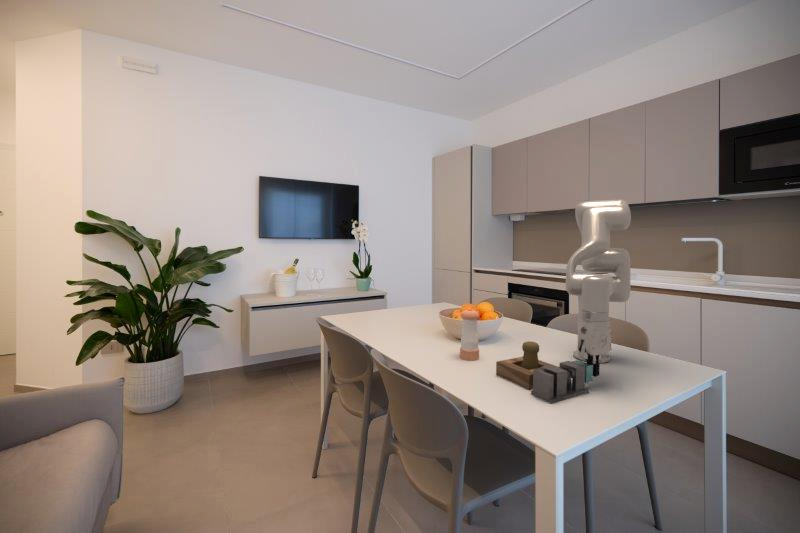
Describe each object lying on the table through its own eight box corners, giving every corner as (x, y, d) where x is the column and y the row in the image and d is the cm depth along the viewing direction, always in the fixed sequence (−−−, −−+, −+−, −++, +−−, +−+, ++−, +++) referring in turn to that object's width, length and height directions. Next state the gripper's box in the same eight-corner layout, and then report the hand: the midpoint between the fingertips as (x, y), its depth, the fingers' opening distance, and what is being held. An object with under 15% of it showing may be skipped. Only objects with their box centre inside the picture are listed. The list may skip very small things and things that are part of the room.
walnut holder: (526, 368, 125) (526, 355, 125) (560, 381, 113) (561, 367, 112) (496, 374, 119) (496, 361, 118) (529, 389, 106) (529, 375, 106)
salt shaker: (483, 358, 136) (483, 308, 135) (469, 361, 132) (470, 310, 131) (469, 353, 142) (469, 306, 141) (455, 356, 138) (456, 307, 137)
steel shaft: (577, 375, 111) (577, 360, 111) (592, 381, 106) (592, 364, 106) (538, 385, 103) (539, 368, 103) (553, 392, 99) (553, 374, 98)
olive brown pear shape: (541, 379, 112) (542, 345, 111) (521, 378, 113) (522, 344, 112) (538, 373, 117) (539, 340, 117) (519, 371, 119) (519, 339, 118)
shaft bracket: (567, 384, 111) (568, 359, 110) (588, 392, 104) (589, 366, 104) (530, 394, 103) (531, 367, 103) (551, 403, 97) (551, 375, 96)
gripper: (590, 320, 103) (588, 383, 104) (621, 316, 109) (619, 374, 110) (567, 316, 109) (565, 375, 110) (598, 312, 116) (596, 367, 117)
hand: (592, 374), depth 110 cm, fingers closed
